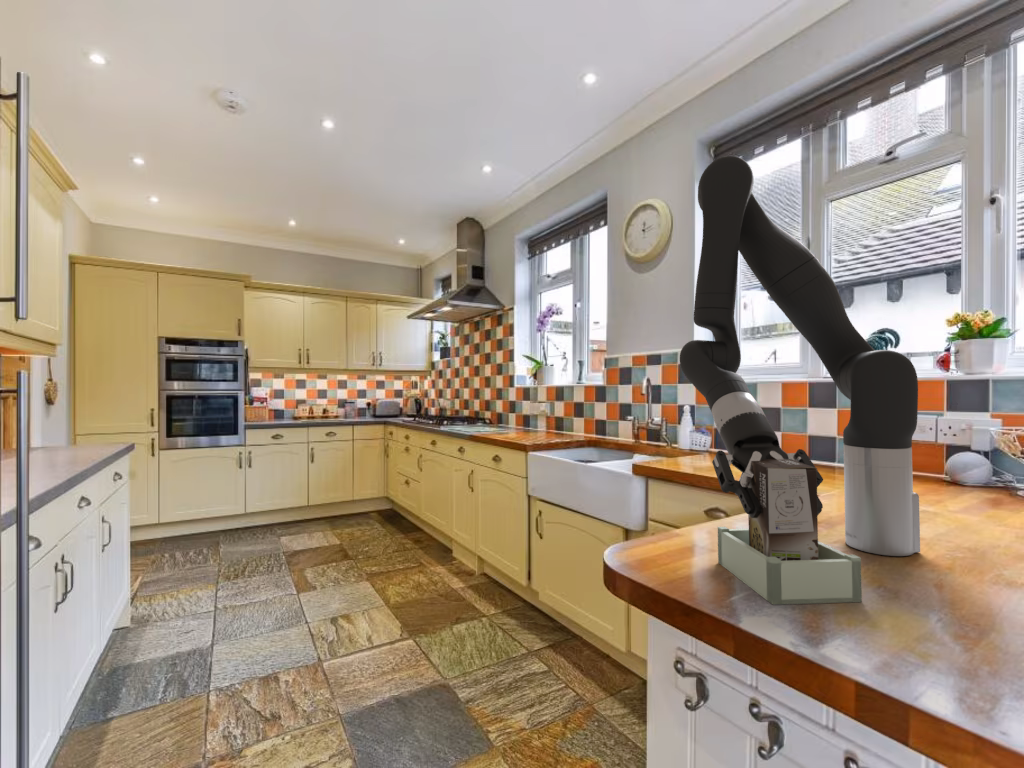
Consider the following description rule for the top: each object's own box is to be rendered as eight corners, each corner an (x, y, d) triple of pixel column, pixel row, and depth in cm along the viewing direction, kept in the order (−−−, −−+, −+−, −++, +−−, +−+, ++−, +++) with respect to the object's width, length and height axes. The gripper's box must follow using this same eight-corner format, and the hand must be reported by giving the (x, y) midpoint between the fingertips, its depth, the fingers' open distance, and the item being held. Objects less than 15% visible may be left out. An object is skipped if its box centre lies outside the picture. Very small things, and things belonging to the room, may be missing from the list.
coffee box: (821, 590, 63) (819, 467, 63) (769, 587, 64) (766, 466, 64) (793, 565, 72) (791, 457, 72) (747, 562, 73) (745, 457, 73)
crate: (790, 560, 75) (789, 525, 75) (861, 601, 61) (860, 557, 61) (718, 562, 75) (717, 526, 75) (772, 604, 60) (771, 560, 60)
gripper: (706, 411, 75) (746, 501, 64) (795, 409, 76) (850, 498, 64) (693, 441, 80) (727, 529, 69) (776, 439, 81) (824, 527, 69)
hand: (787, 514), depth 67 cm, fingers open, 8 cm apart
